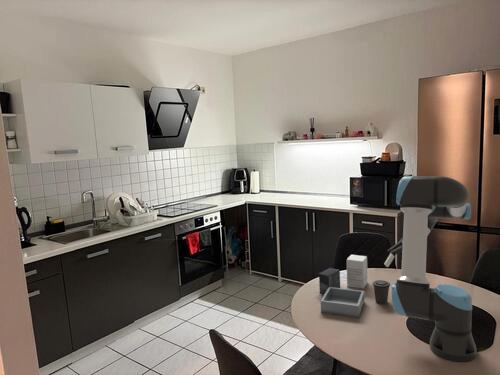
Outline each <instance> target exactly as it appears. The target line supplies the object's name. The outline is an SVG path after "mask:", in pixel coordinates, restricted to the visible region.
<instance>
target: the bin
mask: <svg viewBox="0 0 500 375" xmlns="http://www.w3.org/2000/svg"><path fill="white" fill-rule="evenodd" d="M364 304H365V290H359V289H358V290H356V289H350V288H349V289H348V288H342V287H340V288H334V287H329V288H328V289H327V291H326V293H325V294H323V296H322V298H321V300H320V313H322V314H327V315H328V314H330V315H336V316H342V317H351V318H358V319H359V318H360V316H361V313H362V312H363V308H364Z"/></svg>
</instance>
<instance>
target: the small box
mask: <svg viewBox="0 0 500 375" xmlns="http://www.w3.org/2000/svg"><path fill="white" fill-rule="evenodd" d="M340 274H341V271H340V269H337V268H332V267H329V268H327V269H325V270H323V271H320V272H318V279H319V281H318V283H319V284H318V286H319V293H321V294H323V295H325V293H326V291H327V289H328V288H329V287H334V288H341V275H340Z"/></svg>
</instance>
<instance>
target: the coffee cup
mask: <svg viewBox="0 0 500 375" xmlns="http://www.w3.org/2000/svg"><path fill="white" fill-rule="evenodd" d="M372 285H373V290H374V299H375V300H374V301H375V303H377V304H378V305H386V304H387V303H388V300H389V292H390V287H391V283H390V282H389V281H386V280H383V279H382V280H379V279H378V280H374V281H373V282H372Z"/></svg>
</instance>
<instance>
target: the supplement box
mask: <svg viewBox="0 0 500 375" xmlns="http://www.w3.org/2000/svg"><path fill="white" fill-rule="evenodd" d="M346 282H347V283H346V286H347V287H350V288H356V289H365V287H366V286H367V284H368V282H369V280H368V256H367V255H357V254H350V255H349V256H348V257H347V259H346Z"/></svg>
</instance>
